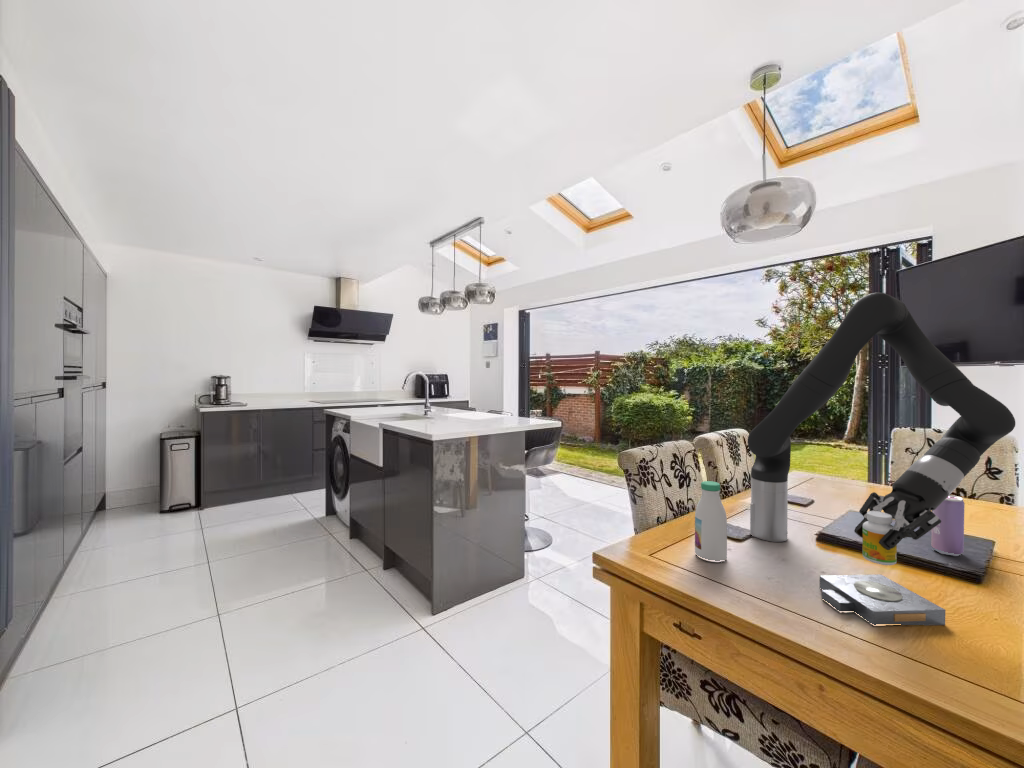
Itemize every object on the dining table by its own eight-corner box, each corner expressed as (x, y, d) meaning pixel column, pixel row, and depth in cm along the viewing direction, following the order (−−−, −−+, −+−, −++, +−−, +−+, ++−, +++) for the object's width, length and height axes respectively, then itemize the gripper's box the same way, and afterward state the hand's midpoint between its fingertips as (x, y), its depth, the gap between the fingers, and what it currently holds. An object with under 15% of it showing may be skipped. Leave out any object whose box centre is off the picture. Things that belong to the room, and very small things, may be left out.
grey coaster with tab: (859, 627, 81) (859, 610, 81) (806, 589, 95) (806, 574, 95) (945, 625, 81) (946, 608, 81) (880, 587, 95) (881, 573, 95)
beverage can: (970, 558, 108) (971, 500, 108) (942, 556, 110) (943, 499, 109) (951, 548, 114) (952, 493, 114) (925, 547, 115) (926, 493, 115)
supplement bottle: (855, 555, 90) (855, 510, 90) (878, 553, 91) (878, 509, 90) (879, 566, 85) (879, 519, 84) (904, 565, 85) (904, 517, 85)
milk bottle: (730, 556, 112) (730, 482, 111) (721, 566, 106) (721, 488, 105) (700, 548, 117) (700, 477, 116) (690, 557, 111) (690, 483, 111)
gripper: (883, 462, 94) (831, 516, 95) (951, 478, 80) (889, 542, 80) (907, 485, 94) (854, 539, 95) (978, 505, 80) (916, 569, 80)
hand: (870, 540), depth 87 cm, fingers closed on supplement bottle, 5 cm apart
